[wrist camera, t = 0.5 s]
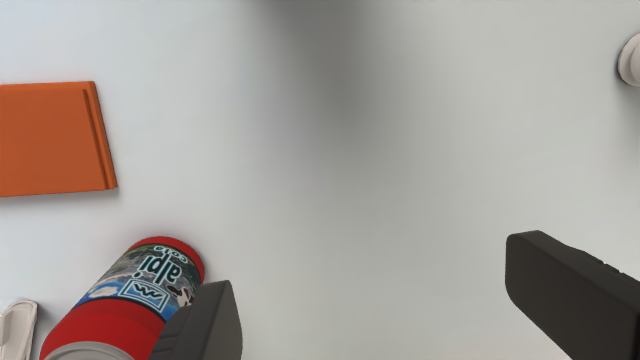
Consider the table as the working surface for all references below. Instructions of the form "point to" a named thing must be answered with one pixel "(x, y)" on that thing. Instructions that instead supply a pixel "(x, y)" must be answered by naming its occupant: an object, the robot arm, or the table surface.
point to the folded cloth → (52, 140)
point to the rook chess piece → (630, 62)
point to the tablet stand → (17, 330)
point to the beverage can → (128, 304)
